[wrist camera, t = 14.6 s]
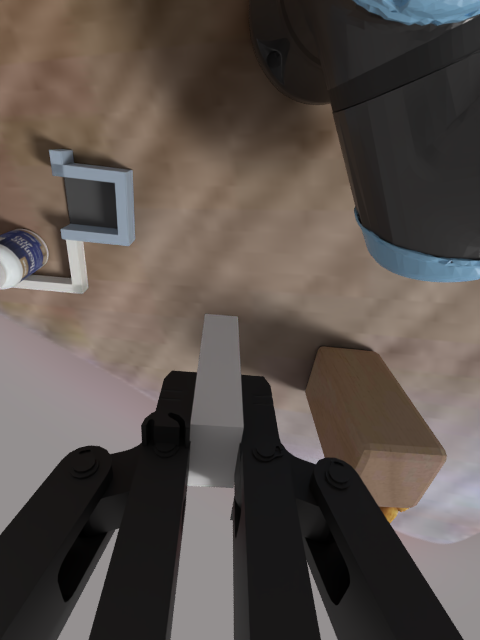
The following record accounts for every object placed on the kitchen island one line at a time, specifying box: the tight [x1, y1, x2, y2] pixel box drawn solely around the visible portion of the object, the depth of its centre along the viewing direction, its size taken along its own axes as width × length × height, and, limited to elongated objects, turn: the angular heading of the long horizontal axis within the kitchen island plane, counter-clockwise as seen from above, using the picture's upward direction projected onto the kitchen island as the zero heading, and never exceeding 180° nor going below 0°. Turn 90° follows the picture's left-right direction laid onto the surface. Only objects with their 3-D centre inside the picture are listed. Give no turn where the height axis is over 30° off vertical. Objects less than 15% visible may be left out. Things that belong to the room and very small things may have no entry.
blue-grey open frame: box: [49, 149, 135, 246], centre depth 38 cm, size 10×21×3 cm, turn 83°
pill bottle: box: [0, 229, 49, 289], centre depth 38 cm, size 5×5×10 cm
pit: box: [64, 177, 118, 229], centre depth 40 cm, size 6×7×1 cm
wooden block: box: [305, 346, 447, 508], centre depth 45 cm, size 10×10×20 cm
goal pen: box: [13, 240, 88, 294], centre depth 42 cm, size 8×14×2 cm, turn 83°
